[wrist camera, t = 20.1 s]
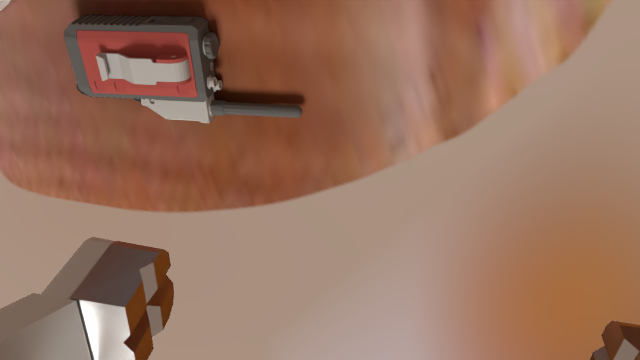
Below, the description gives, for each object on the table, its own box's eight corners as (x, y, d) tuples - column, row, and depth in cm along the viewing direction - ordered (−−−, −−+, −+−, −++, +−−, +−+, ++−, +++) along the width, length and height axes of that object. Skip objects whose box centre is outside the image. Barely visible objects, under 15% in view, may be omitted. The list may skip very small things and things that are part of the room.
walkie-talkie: (93, 106, 52) (305, 116, 49) (67, 128, 48) (295, 140, 45) (67, 10, 47) (300, 15, 44) (36, 26, 44) (288, 33, 40)
